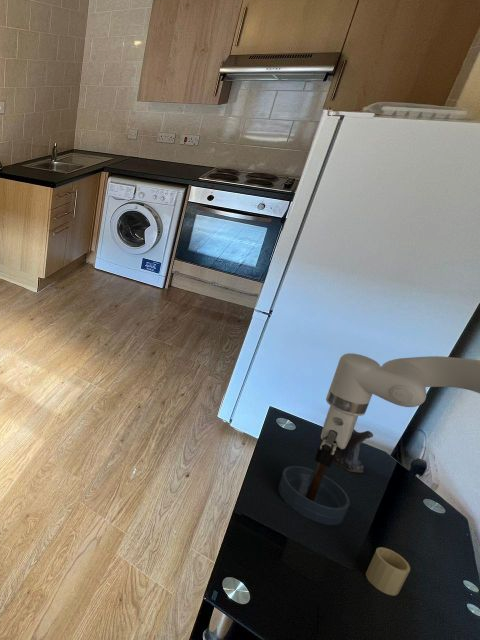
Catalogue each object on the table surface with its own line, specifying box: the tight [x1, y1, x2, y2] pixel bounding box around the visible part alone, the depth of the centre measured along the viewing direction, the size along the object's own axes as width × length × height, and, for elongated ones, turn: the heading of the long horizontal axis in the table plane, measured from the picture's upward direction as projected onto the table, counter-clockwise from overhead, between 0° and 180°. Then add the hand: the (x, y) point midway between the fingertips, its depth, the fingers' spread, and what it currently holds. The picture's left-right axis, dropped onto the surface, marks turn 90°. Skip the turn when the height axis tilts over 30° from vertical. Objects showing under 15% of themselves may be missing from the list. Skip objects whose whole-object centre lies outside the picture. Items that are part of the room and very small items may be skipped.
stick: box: [306, 445, 334, 501], centre depth 110 cm, size 2×2×20 cm
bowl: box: [277, 465, 351, 526], centre depth 112 cm, size 14×14×6 cm
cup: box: [365, 546, 411, 597], centre depth 91 cm, size 5×5×8 cm
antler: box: [332, 428, 374, 473], centre depth 124 cm, size 12×8×25 cm
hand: (327, 455), depth 108 cm, fingers open, 9 cm apart
